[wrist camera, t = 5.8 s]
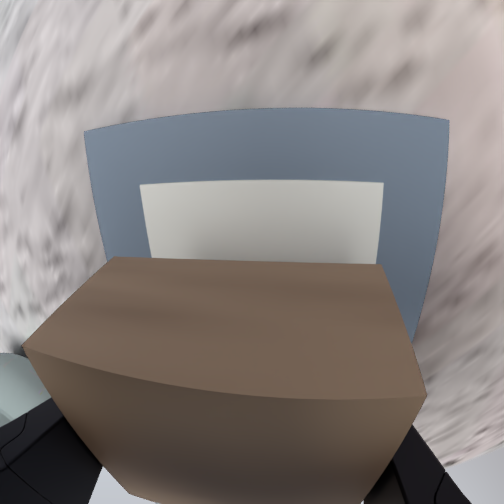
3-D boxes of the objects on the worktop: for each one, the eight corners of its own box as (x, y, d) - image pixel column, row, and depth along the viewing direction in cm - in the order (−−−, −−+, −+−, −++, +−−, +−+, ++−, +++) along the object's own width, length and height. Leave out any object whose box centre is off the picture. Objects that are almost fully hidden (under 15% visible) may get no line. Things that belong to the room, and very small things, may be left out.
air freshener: (5, 322, 19) (-68, 400, 10) (84, 373, 19) (15, 478, 10) (25, 392, 24) (-21, 457, 15) (90, 433, 24) (48, 509, 15)
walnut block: (343, 430, 10) (342, 525, 7) (164, 413, 11) (129, 493, 8) (381, 264, 7) (427, 395, 4) (113, 256, 8) (21, 345, 5)
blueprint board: (442, 119, 9) (450, 120, 9) (389, 392, 15) (391, 401, 15) (91, 129, 12) (82, 131, 11) (149, 375, 18) (145, 383, 17)
